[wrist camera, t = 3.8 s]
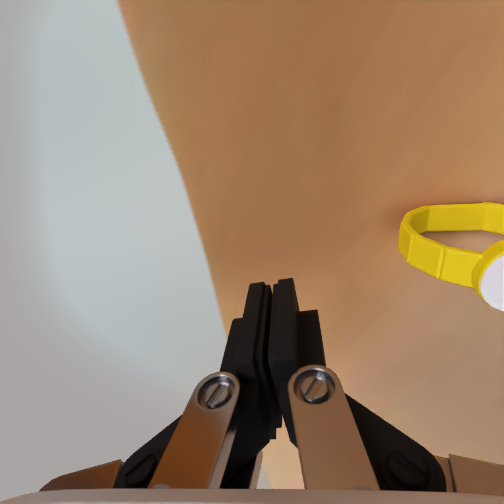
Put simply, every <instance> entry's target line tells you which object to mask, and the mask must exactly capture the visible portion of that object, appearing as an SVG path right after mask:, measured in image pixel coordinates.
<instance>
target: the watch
mask: <svg viewBox="0 0 504 504" xmlns="http://www.w3.org/2000/svg"><path fill="white" fill-rule="evenodd" d="M463 230H483V231H488V232H493V233H498V234H503V235H504V204H499V203H492V202H489V203H487V202H483V203H473V204H450V205H427V206H426V205H424V206H422V207H419V208H417V209H414V210H412V211H409V212H408V213H406V214H405V216H404V218H403V220H402V222H401V225H400V233H399V242H398V249H399V251H400V252H401V254H402V255H403V257H404V258H405V259H406V261H407V262H408V263H410V264H411V265H412V266H414V267H416V268H418V269H419V270H421V271H423V272H425V273H427V274H429V275H431V276H433V277H435V278H440V280H442V281H446V282H450V283H454V284H458V285H462V286H466V287H470V288H473V289H474V290H475V292H476V293H477V294H478V295H479V296H480V297H481V298H482V299H483V300H484V301H485V302H486V303H487V304H488V305H490V306H492V307H494V308H497V309H499V310H501V311H504V240H501V241H499V242H497V243H495V244H493V245H492V246H491V247H489V248H488V249H486V250H485V251H484V252H483V253H482V252H476V251H471V250H466V249H460V248H455V247H450V246H448V247H447V246H446V245H444V244H441V243H439V242H436V241H434V240H431V239H429V238H426V237H424V236H422V235H419V234H421V233H423V232H425V231H463Z"/></svg>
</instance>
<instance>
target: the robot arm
mask: <svg viewBox="0 0 504 504" xmlns="http://www.w3.org/2000/svg"><path fill="white" fill-rule="evenodd" d="M282 415H283V418H284V422H285V425H286V427H287V431H288V435H289V438H290V441H291V442H292V443H293V444H294V445H295V446H296V447H297V448H298V452H299V458H300V463H301V469H302V475H303V481H304V487H305V490H303V489H256V487H257V483H258V478H259V473H260V468H261V463H262V457H263V451H262V449H263V448H264V447H265V446H266V445H267V444H268V443H269V442H270V439H276V428H281V427H282ZM0 504H504V465H500V464H495V463H490V462H485V461H480V460H476V459H471V458H466V457H461V456H456V455H451V454H449V458H444V457H439V456H434V455H432V454H431V453H430V452H429V451H428V450H426V449H425V448H424V447H423V446H421V445H420V444H418V443H417V442H415V441H414V440H413V439H411V438H410V437H408V436H407V435H405V434H404V433H402V432H401V431H399V430H398V429H396V428H395V427H394V426H392V425H391V424H389V423H388V422H386V421H385V420H383V419H382V418H380V417H379V416H377V415H376V414H375V413H373V412H372V411H370V410H369V409H367V408H366V407H364V406H363V405H361V404H360V403H358V402H357V401H355V400H354V399H353V398H351V397H350V396H348V395H347V394H345V393H344V390H343V388H342V385H341V382H340V380H339V378H338V377H337V375H336V374H335V373H334V372H333V371H332V370H331V369H329V368H327V367H326V362H325V355H324V348H323V341H322V335H321V328H320V322H319V316H318V310H309V311H299V306H298V301H297V296H296V291H295V286H294V281H293V278H288V279H281V280H278V284H274V285H273V295H272V290H271V286H270V285H265V283H264V282H259V283H251V284H250V285H249V290H248V295H247V299H246V304H245V309H244V314H243V318H237V319H234V320H233V321H232V324H231V328H230V332H229V336H228V340H227V344H226V348H225V352H224V356H223V360H222V364H221V368H220V372H216V373H213V374H210V375H209V376H207V377H205V378H204V379H203V380H202V381H201V382H200V383H198V385H197V386H196V388H195V390H194V392H193V394H192V396H191V398H190V400H189V402H188V404H187V406H186V408H185V411H184V412H183V414H182V415H181V416H180V417H179V418H177V419H176V420H175V421H174V422H172V423H171V424H170V425H169V426H167V427H166V428H165V429H163V430H162V431H161V432H160V433H158V434H157V435H156V436H155V437H153V438H152V439H151V440H150V441H149V442H147V443H146V444H145V445H143V446H142V447H141V448H140V449H138V450H137V451H136V452H135V453H133V454H132V455H131V456H130V457H129V458H128V459H127V460H126V462H122V461H121V460H116V461H112V462H109V463H105V464H102V465H98V466H94V467H91V468H87V469H84V470H80V471H76V472H73V473H69V474H66V475H62V476H59V477H57V478H55V479H53V480H51V481H50V482H49V483H47V484H46V485H45V486H43V487H42V488H41V490H40V491H39V492H36V493H31V494H25V495H21V496H18V497H15V498H11V499H8V500H5V501H2V502H0Z"/></svg>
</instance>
